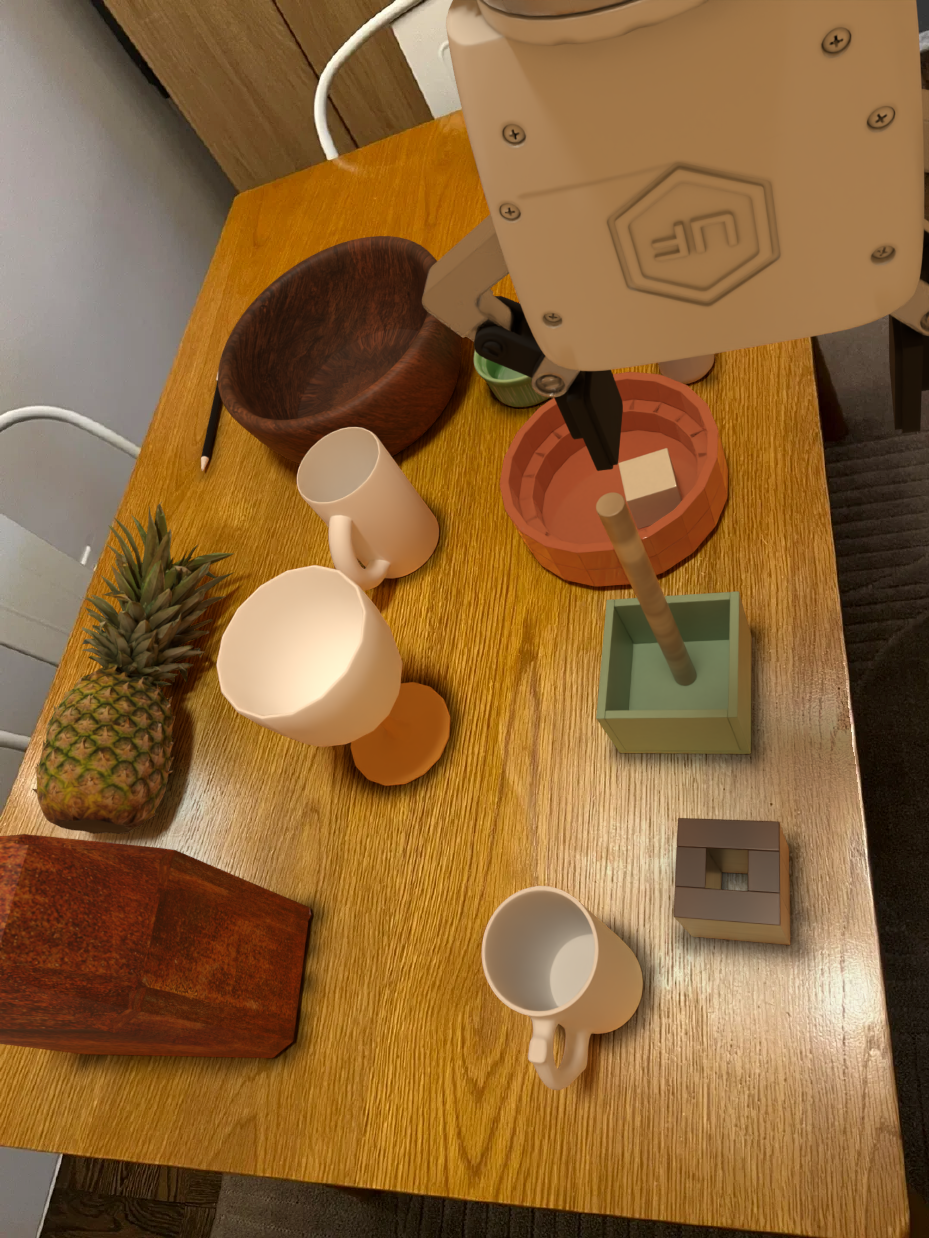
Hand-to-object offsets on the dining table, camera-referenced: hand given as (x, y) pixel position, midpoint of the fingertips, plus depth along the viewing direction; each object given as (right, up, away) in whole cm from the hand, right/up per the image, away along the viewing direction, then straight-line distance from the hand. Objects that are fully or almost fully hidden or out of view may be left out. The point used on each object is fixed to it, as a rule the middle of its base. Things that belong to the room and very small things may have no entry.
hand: (748, 419), depth 31 cm
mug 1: (-16, -1, +53) cm, 55 cm away
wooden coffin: (-30, -35, +39) cm, 61 cm away
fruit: (-37, -14, +55) cm, 68 cm away
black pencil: (-38, +18, +74) cm, 85 cm away
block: (+6, +3, +43) cm, 44 cm away
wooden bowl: (-19, +17, +65) cm, 70 cm away
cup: (-15, -16, +43) cm, 49 cm away
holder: (+8, -24, +27) cm, 38 cm away
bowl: (+4, +3, +46) cm, 46 cm away
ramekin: (-3, +17, +57) cm, 60 cm away
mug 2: (-1, -32, +27) cm, 42 cm away
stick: (+6, -11, +35) cm, 37 cm away
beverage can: (+10, +16, +50) cm, 54 cm away
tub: (+6, -12, +35) cm, 38 cm away
